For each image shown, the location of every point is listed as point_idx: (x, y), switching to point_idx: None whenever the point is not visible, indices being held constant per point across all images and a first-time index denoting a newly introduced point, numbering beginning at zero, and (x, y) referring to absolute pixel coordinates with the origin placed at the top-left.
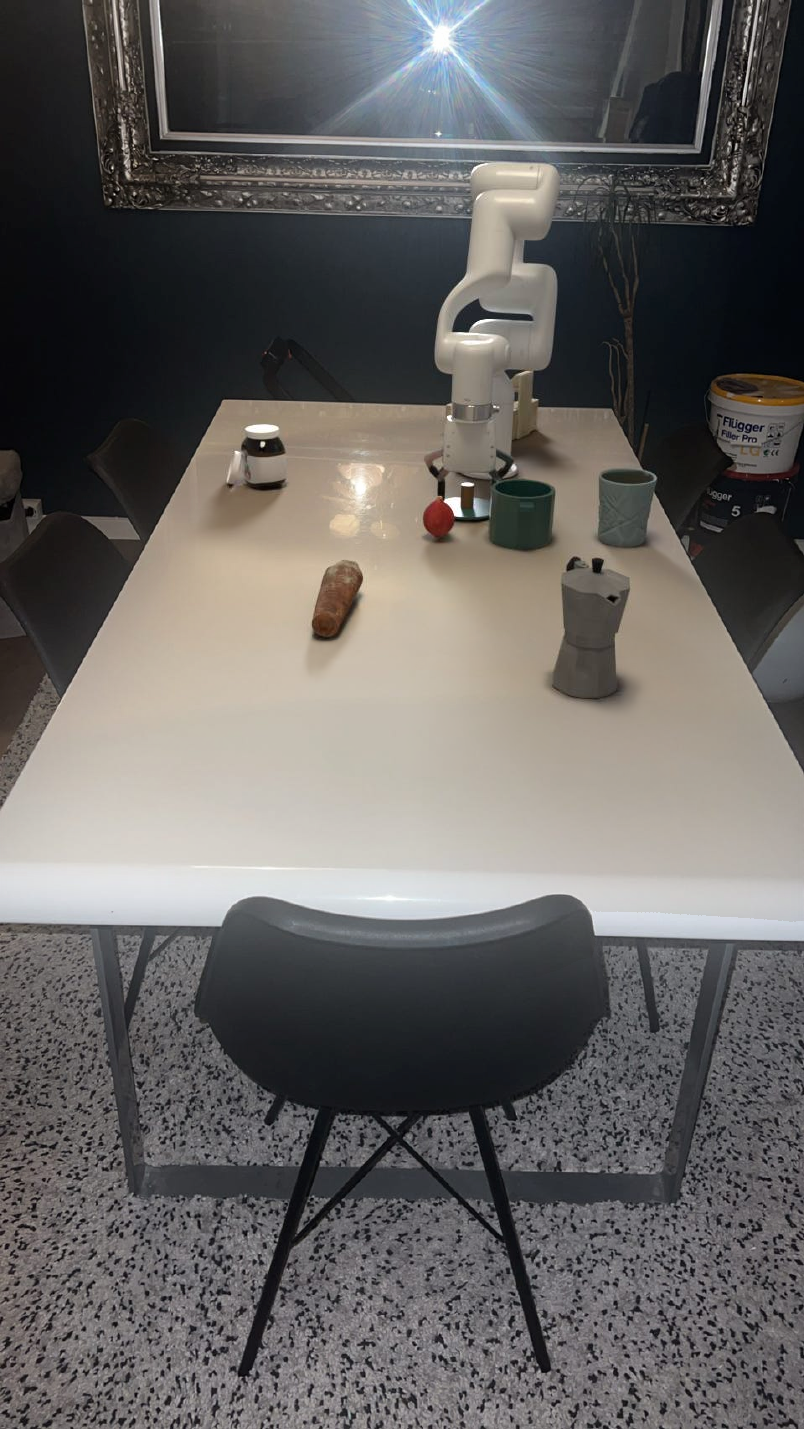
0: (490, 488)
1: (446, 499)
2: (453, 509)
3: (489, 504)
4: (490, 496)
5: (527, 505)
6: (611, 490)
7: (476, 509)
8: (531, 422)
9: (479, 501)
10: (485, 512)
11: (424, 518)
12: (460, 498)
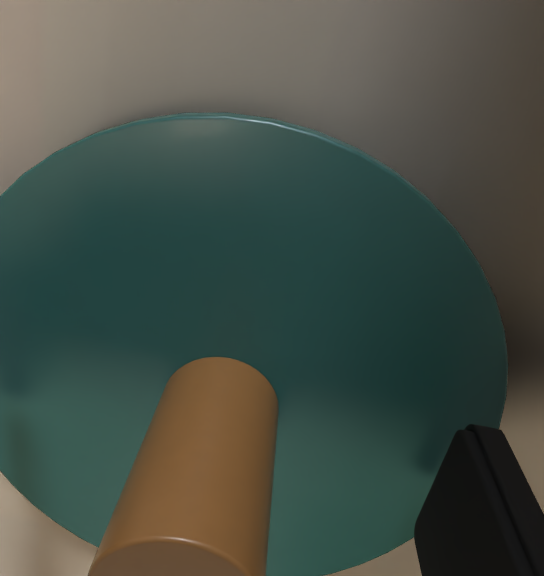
0: (470, 573)
1: (49, 169)
2: (100, 440)
3: (444, 379)
4: (431, 547)
5: None
6: None
7: (287, 467)
8: None
9: (381, 285)
10: (338, 528)
11: None
12: (205, 161)
